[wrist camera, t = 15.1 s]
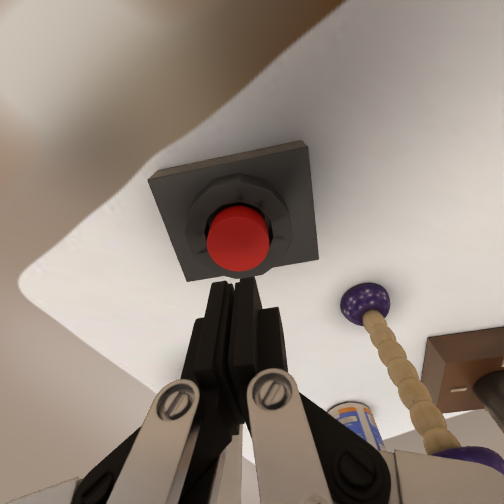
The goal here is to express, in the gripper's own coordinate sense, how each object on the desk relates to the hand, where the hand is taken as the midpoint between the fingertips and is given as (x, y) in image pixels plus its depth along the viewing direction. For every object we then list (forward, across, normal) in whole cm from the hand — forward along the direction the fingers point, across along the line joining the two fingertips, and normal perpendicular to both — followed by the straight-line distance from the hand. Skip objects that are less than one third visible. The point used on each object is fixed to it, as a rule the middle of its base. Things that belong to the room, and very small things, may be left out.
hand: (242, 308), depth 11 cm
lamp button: (+7, +1, 0) cm, 7 cm away
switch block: (+11, +1, 0) cm, 11 cm away
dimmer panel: (+11, -19, +21) cm, 31 cm away
